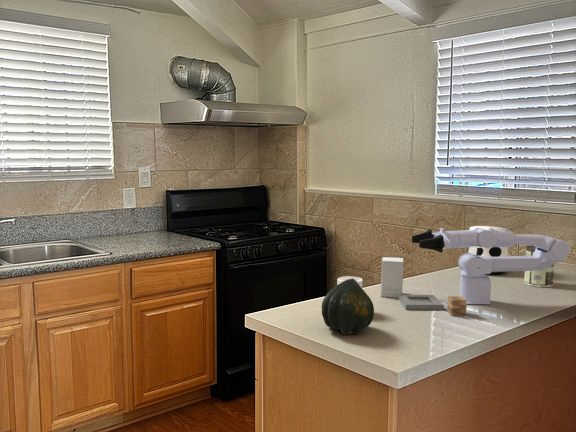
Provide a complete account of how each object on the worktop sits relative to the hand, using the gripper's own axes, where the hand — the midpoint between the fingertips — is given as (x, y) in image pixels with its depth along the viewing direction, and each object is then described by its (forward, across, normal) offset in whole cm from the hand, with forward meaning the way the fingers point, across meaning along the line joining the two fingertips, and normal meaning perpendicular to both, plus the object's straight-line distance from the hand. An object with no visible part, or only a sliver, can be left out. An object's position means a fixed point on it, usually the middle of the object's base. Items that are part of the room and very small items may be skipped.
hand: (415, 241), depth 187 cm
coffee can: (-54, -21, +25) cm, 63 cm away
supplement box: (+6, -9, +21) cm, 23 cm away
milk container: (-44, -43, +25) cm, 67 cm away
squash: (+29, +27, +18) cm, 43 cm away
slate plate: (0, +4, +20) cm, 21 cm away
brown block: (-8, +14, +20) cm, 26 cm away
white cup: (+24, +8, +19) cm, 32 cm away
